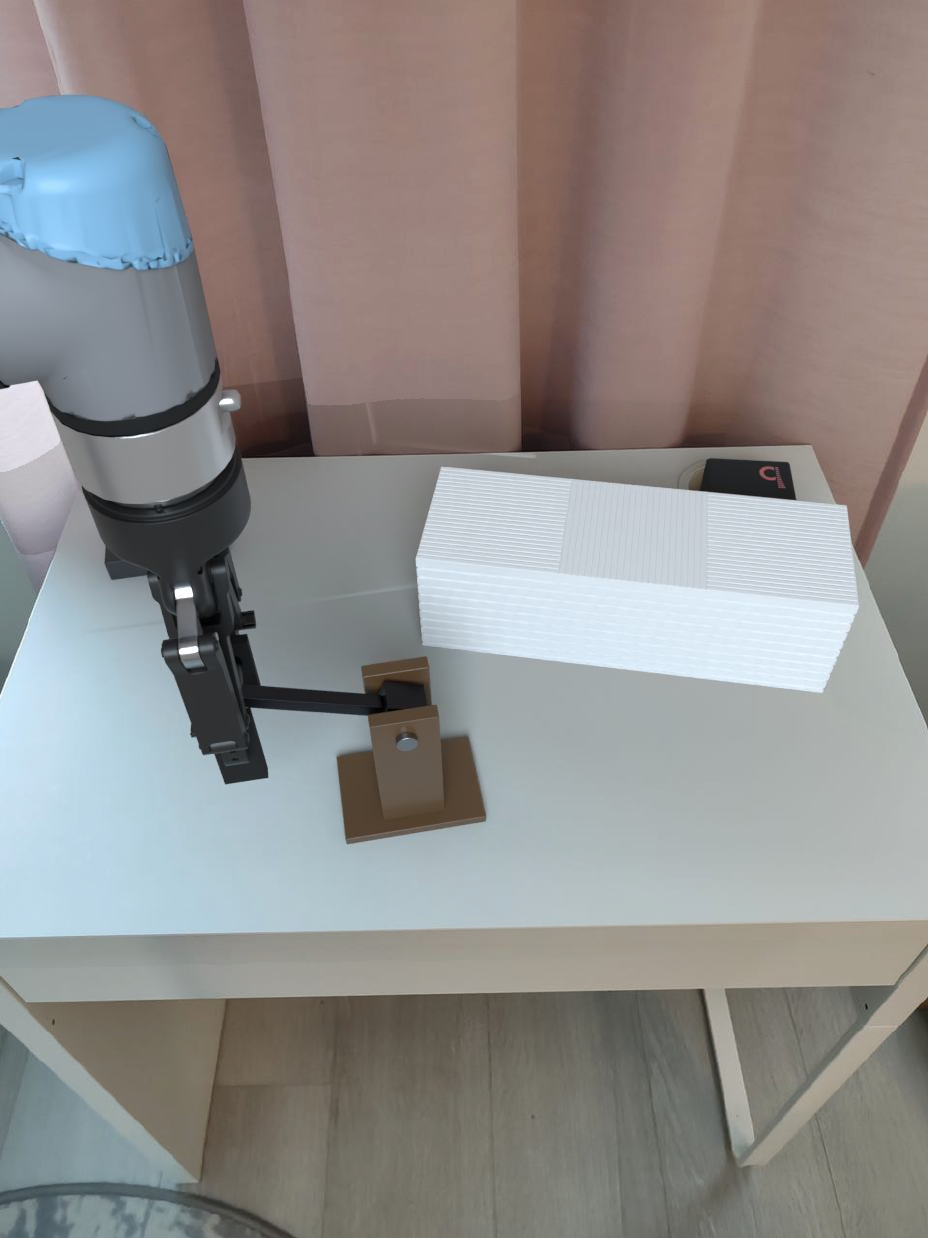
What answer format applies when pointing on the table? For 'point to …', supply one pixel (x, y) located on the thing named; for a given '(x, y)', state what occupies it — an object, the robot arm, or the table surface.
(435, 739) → the bracket
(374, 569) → the table surface
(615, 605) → the stack of papers
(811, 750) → the table surface
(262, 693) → the lever
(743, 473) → the electronic device
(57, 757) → the table surface
